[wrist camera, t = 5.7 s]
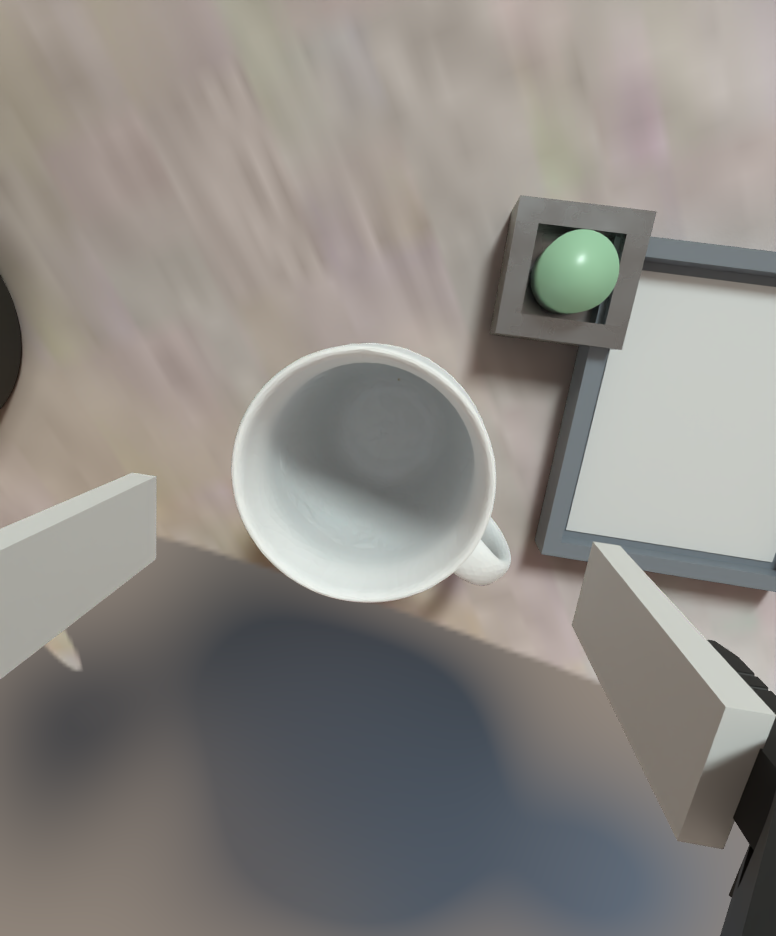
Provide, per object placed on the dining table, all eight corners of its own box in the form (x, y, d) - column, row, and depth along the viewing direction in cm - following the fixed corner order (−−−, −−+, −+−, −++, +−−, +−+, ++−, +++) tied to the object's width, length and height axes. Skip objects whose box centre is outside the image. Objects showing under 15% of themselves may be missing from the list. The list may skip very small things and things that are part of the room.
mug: (550, 466, 32) (626, 546, 19) (433, 575, 35) (433, 707, 22) (383, 306, 30) (347, 278, 18) (275, 432, 33) (176, 486, 20)
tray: (534, 540, 33) (541, 554, 31) (602, 240, 28) (616, 232, 26) (776, 579, 32) (800, 595, 30) (890, 276, 27) (928, 270, 25)
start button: (524, 309, 28) (531, 306, 26) (538, 234, 27) (548, 224, 25) (594, 319, 28) (608, 316, 25) (612, 243, 27) (628, 234, 24)
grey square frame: (489, 333, 30) (495, 332, 27) (511, 210, 28) (520, 195, 26) (603, 349, 30) (621, 350, 27) (633, 225, 28) (656, 211, 25)
